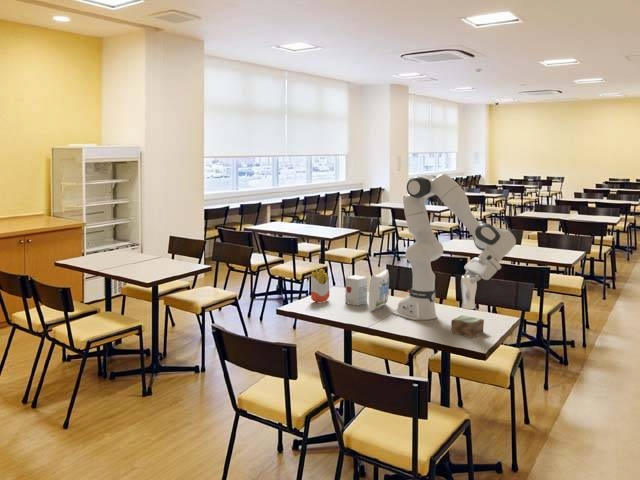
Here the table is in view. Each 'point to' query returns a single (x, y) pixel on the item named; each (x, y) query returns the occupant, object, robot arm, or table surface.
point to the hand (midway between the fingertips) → (467, 281)
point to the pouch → (378, 290)
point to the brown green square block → (467, 326)
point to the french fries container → (319, 286)
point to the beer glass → (468, 291)
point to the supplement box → (356, 290)
